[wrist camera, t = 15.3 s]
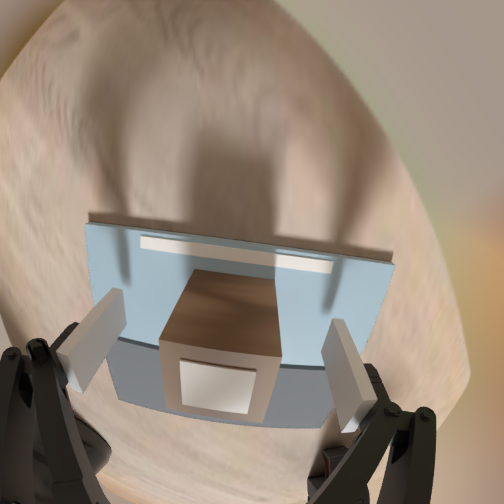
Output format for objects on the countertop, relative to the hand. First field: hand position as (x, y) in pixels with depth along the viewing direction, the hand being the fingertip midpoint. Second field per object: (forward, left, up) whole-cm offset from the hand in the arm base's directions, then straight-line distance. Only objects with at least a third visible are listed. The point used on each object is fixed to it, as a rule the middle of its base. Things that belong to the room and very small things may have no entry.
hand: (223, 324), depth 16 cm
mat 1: (0, 0, -2) cm, 2 cm away
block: (0, 0, -2) cm, 2 cm away
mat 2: (0, -9, -2) cm, 10 cm away
